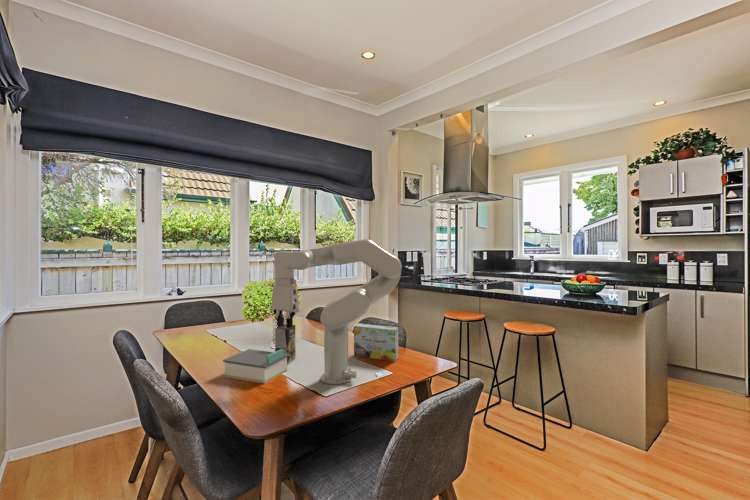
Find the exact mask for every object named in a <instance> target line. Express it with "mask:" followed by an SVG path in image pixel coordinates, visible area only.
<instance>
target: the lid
mask: <svg viewBox="0 0 750 500" xmlns="http://www.w3.org/2000/svg"><path fill="white" fill-rule="evenodd" d="M286 357H288V354H284V349H281V350H278V351H276V352H275V351H274V352H272V351H267V350H259V349H250V348H248V349H246V350H244V351H241V352H238V353H236V354H234V355H232V356H228V357H227V358H225V359H222V362H223V363H225V362H227V363H233V364H240V365H246V366H253V367H259V368H266V367H268V366H270V365H272V364H274V363H276V362H278V361H280V360H282V359H284V358H286Z"/></svg>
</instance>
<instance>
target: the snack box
mask: <svg viewBox="0 0 750 500" xmlns="http://www.w3.org/2000/svg"><path fill="white" fill-rule="evenodd" d="M353 356H354V357H360V358H368V359H374V360H381V361H388V362H396V361H397V360H398V359H399V327H398V326H395V327H394V326H387V325H386V326H385V325H378V324H377V325H375V324H367V323H356V324H354V325H353Z"/></svg>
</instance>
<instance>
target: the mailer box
mask: <svg viewBox="0 0 750 500" xmlns="http://www.w3.org/2000/svg"><path fill="white" fill-rule="evenodd" d="M287 371H288V364H287V357H286V358H284V359H282V360H280V361H278V362H276V363H274V364H272V365H270V366H268V367H266V368H259V367H253V366H246V365H240V364H233V363H227V362H224V377H225V378H230V379H236V380H242V381H247V382H253V383H258V384H267V383H270V381H272V380H274V379H275V378H277V377H279V376H281V375H283V374H284V373H286V372H287Z"/></svg>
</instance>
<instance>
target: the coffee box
mask: <svg viewBox="0 0 750 500" xmlns="http://www.w3.org/2000/svg"><path fill="white" fill-rule="evenodd" d="M274 343H275V345H274V352H276V351H278V350H281V349H284V354H288V357H287V365H289V364H290V363H292V362H293V361H294V360H295V359H296V355H297V354H296V350H297V349H296V347H297V346H296V324H293V325H292V327H290V328H286V324H284V325H283V326H282V327H278V326H277V327H276V328H275V329H274Z"/></svg>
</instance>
